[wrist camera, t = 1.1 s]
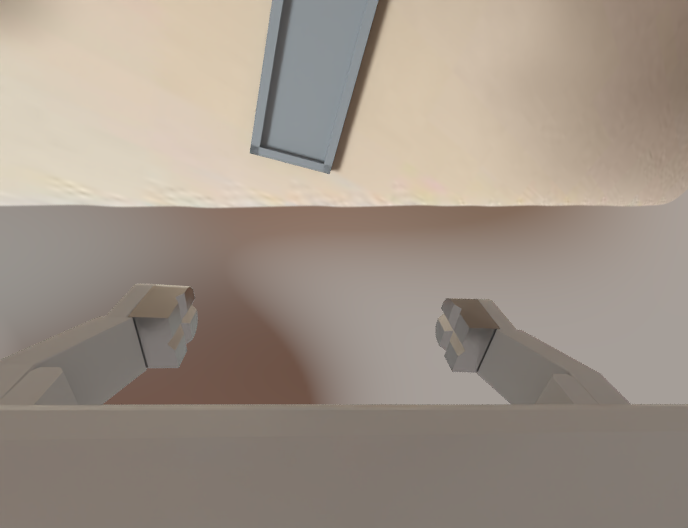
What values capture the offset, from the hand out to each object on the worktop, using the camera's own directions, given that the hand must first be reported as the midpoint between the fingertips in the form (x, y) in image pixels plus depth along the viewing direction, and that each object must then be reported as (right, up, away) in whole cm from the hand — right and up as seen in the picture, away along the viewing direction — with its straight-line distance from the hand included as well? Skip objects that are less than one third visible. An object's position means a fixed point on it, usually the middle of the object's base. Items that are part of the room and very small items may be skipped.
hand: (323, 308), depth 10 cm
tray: (-3, +25, +24) cm, 34 cm away
